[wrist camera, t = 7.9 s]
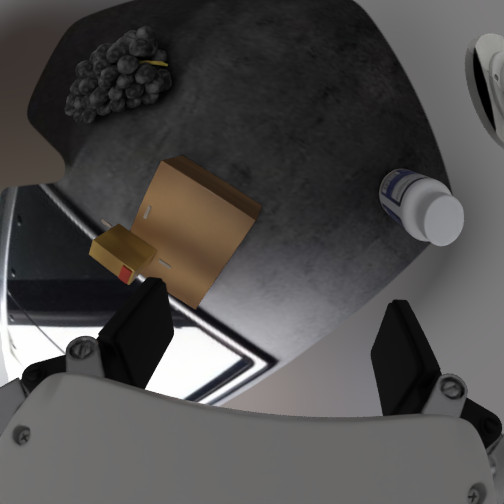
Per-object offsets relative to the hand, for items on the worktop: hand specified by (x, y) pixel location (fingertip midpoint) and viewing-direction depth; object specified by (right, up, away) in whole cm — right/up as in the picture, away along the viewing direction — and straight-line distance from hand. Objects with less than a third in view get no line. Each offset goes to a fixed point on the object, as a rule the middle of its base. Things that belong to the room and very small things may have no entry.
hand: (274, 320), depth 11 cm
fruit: (-15, +22, +13) cm, 30 cm away
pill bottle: (+15, +9, +14) cm, 22 cm away
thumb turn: (-13, +4, +15) cm, 20 cm away
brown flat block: (-9, +6, +19) cm, 22 cm away
